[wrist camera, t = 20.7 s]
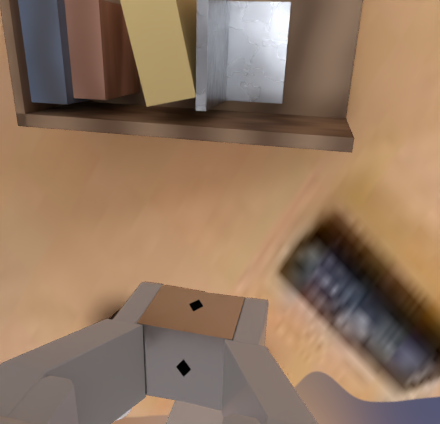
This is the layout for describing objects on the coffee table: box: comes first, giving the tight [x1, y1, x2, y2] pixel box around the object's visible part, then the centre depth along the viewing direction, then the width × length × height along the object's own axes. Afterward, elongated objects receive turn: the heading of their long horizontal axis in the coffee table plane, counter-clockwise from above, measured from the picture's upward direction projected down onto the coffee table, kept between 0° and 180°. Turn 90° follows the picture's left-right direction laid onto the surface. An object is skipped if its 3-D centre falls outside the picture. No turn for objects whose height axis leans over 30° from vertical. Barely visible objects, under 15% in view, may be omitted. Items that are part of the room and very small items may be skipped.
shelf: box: [0, 0, 363, 152], centre depth 33 cm, size 26×11×10 cm, turn 88°
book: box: [120, 0, 197, 107], centre depth 33 cm, size 4×8×8 cm, turn 11°
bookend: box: [196, 0, 291, 111], centre depth 32 cm, size 6×8×8 cm
